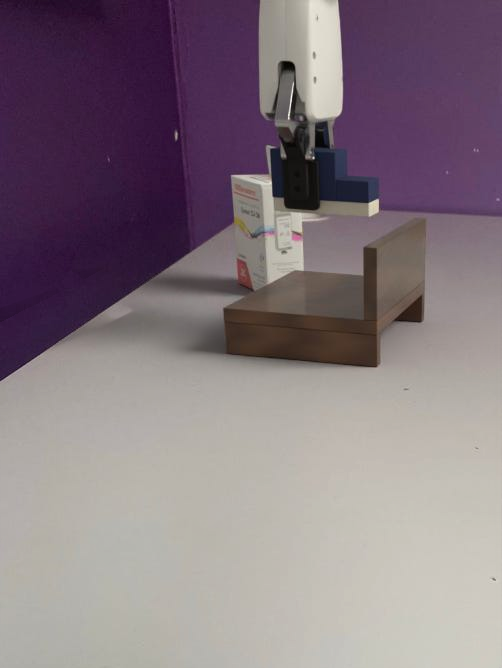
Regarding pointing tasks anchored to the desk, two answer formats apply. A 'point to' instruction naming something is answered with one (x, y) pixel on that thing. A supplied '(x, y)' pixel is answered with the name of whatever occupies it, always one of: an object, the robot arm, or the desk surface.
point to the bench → (334, 305)
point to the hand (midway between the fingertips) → (310, 203)
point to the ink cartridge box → (264, 232)
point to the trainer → (331, 186)
